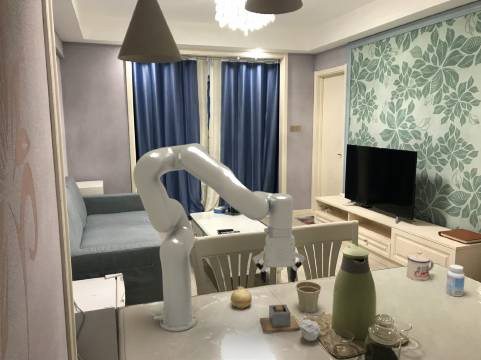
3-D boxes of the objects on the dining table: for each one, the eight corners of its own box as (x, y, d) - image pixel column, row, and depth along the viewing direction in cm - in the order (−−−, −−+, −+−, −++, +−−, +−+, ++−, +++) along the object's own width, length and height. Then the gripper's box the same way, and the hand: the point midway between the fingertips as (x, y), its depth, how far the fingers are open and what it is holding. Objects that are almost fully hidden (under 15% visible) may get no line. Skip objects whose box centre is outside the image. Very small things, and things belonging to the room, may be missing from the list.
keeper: (264, 333, 129) (264, 314, 128) (259, 320, 137) (259, 303, 136) (299, 330, 130) (300, 312, 129) (293, 318, 138) (293, 301, 137)
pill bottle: (463, 292, 157) (466, 265, 155) (462, 298, 152) (465, 270, 150) (446, 288, 160) (448, 262, 158) (444, 294, 155) (447, 267, 153)
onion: (255, 303, 149) (255, 285, 148) (245, 312, 142) (245, 294, 141) (237, 299, 153) (236, 281, 152) (226, 307, 146) (226, 289, 145)
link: (272, 328, 130) (272, 314, 129) (268, 319, 136) (269, 305, 135) (290, 326, 131) (290, 312, 130) (285, 317, 137) (286, 304, 136)
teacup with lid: (414, 282, 167) (416, 256, 165) (401, 273, 176) (403, 248, 174) (439, 279, 169) (441, 253, 167) (425, 271, 178) (427, 246, 176)
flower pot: (320, 316, 139) (321, 293, 138) (294, 313, 141) (294, 291, 140) (321, 304, 148) (321, 282, 147) (295, 301, 150) (296, 280, 149)
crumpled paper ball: (294, 339, 125) (295, 319, 124) (309, 332, 129) (310, 312, 128) (309, 348, 120) (309, 327, 119) (324, 340, 125) (324, 320, 123)
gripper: (255, 235, 123) (254, 287, 126) (309, 234, 125) (306, 285, 128) (252, 228, 131) (250, 277, 133) (302, 227, 133) (300, 275, 136)
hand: (278, 281), depth 131 cm, fingers open, 9 cm apart
